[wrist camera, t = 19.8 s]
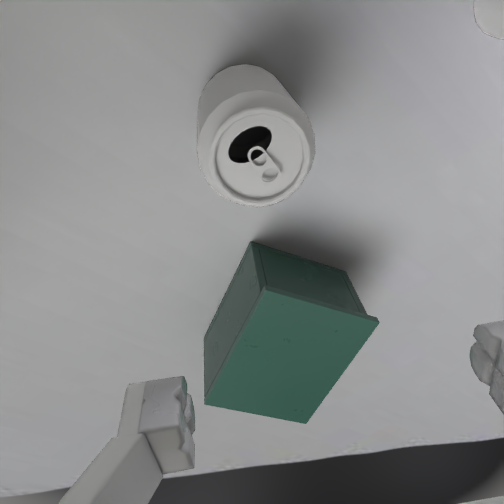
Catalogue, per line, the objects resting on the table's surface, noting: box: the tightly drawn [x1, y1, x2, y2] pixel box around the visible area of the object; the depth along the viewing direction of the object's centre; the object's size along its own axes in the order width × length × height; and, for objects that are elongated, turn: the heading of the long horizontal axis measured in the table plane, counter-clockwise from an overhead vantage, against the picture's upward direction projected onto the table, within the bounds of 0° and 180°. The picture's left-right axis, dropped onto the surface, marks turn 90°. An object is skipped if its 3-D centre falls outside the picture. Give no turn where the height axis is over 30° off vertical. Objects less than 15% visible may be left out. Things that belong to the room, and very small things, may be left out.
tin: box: [204, 242, 367, 397], centre depth 44 cm, size 14×11×8 cm
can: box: [197, 64, 315, 207], centre depth 31 cm, size 8×8×12 cm
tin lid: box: [204, 285, 379, 424], centre depth 40 cm, size 14×11×1 cm
